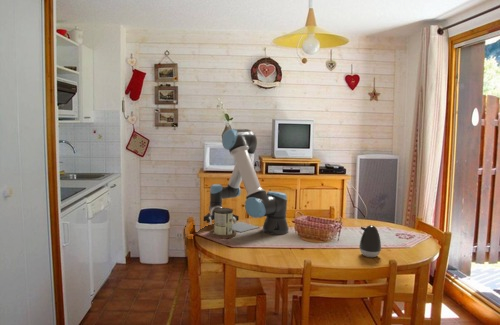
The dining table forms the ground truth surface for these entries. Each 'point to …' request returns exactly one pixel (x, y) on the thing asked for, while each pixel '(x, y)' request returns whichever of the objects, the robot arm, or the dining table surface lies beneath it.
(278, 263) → the dining table surface
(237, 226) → the slate mat
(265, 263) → the dining table surface
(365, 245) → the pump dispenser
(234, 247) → the dining table surface
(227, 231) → the coffee can
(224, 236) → the walnut ring collar
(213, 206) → the robot arm
